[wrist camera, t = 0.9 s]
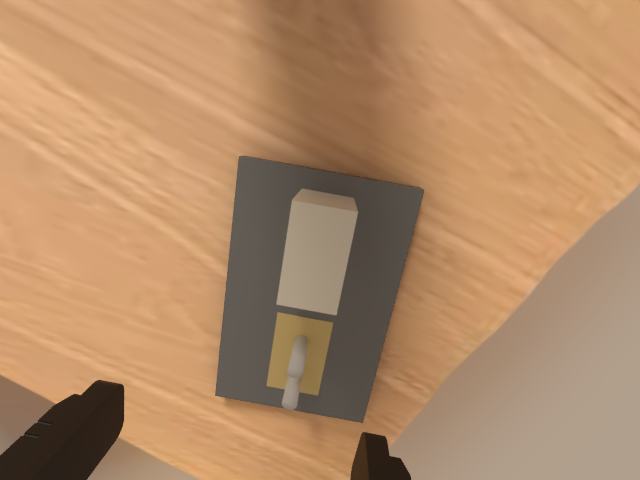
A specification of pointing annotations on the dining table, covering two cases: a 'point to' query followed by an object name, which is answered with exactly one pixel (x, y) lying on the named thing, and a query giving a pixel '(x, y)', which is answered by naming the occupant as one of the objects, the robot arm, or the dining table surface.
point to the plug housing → (316, 251)
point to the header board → (303, 325)
